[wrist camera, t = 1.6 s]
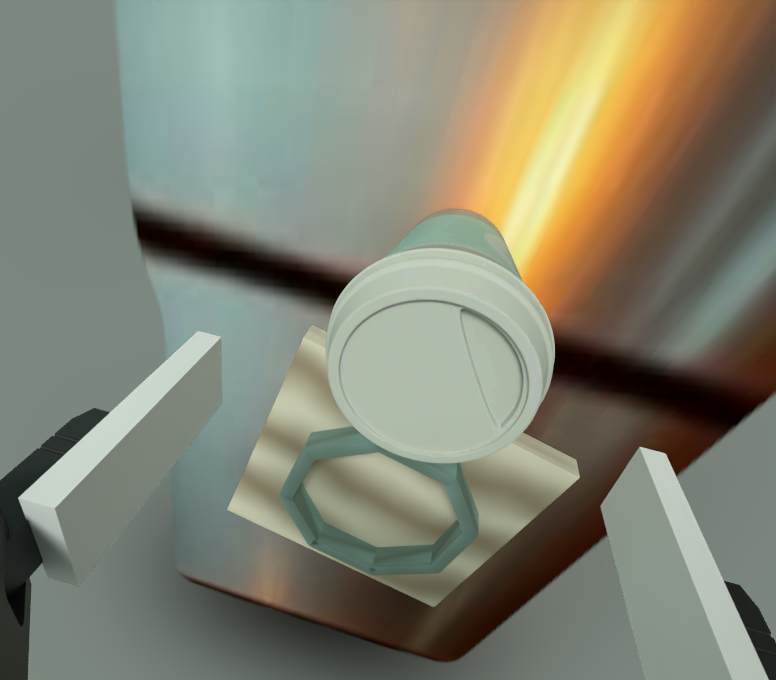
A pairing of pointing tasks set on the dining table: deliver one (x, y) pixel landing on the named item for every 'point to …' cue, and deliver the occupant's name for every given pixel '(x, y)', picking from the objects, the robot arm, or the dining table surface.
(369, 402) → the coffee cup
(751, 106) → the dining table surface
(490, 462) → the serving board
